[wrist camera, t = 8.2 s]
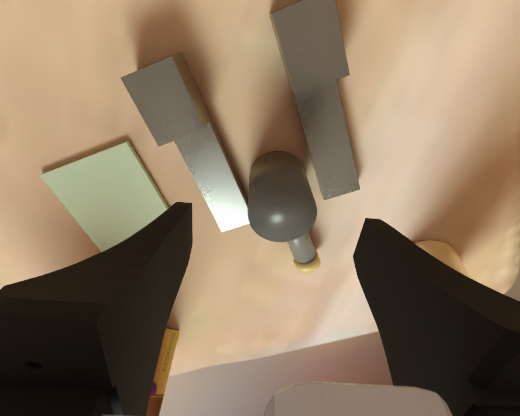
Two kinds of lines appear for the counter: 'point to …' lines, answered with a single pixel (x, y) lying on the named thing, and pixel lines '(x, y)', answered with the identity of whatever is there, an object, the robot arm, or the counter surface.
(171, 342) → the candy box
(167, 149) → the counter surface
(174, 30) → the counter surface
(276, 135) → the counter surface
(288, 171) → the grey tapered rounded piece
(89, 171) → the plate
